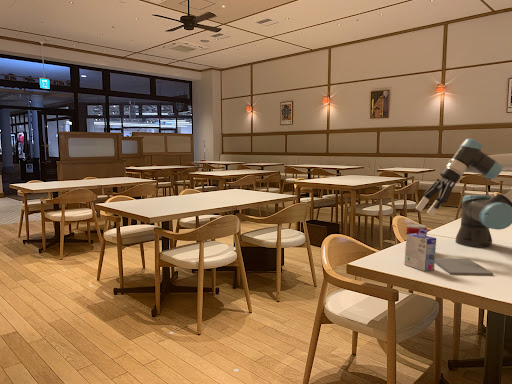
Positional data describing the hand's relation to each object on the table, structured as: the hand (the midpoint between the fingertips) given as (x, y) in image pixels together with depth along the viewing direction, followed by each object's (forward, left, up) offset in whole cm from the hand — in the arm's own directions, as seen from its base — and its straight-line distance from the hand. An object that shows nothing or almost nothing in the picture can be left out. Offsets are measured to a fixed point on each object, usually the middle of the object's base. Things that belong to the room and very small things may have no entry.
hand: (423, 212), depth 172 cm
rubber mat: (-6, +24, -17) cm, 30 cm away
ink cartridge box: (+10, +25, -17) cm, 32 cm away
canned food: (+2, -1, -17) cm, 17 cm away
